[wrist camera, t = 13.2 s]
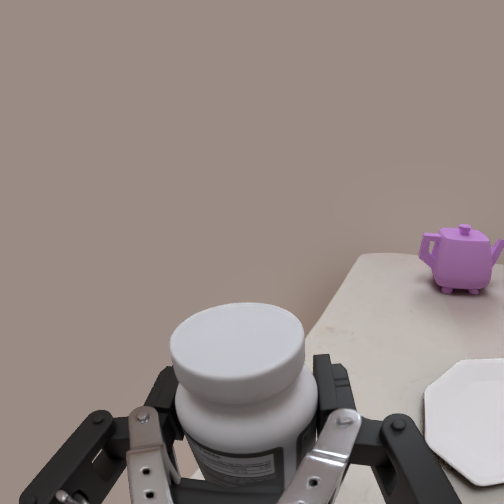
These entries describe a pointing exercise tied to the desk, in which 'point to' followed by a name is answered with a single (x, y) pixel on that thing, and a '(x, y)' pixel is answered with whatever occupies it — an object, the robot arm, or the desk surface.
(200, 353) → the pill bottle
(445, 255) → the teapot
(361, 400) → the desk surface
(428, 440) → the plate
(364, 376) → the desk surface
